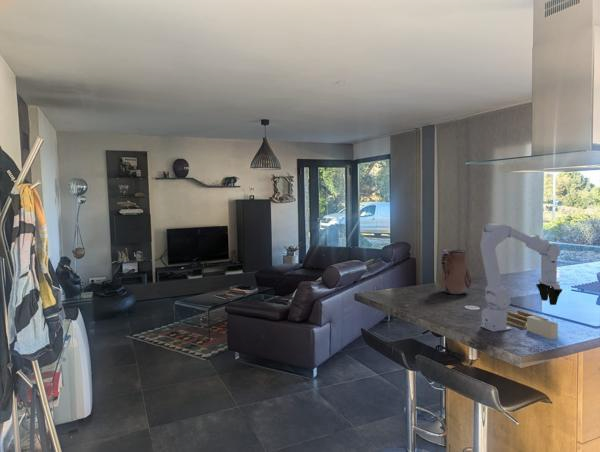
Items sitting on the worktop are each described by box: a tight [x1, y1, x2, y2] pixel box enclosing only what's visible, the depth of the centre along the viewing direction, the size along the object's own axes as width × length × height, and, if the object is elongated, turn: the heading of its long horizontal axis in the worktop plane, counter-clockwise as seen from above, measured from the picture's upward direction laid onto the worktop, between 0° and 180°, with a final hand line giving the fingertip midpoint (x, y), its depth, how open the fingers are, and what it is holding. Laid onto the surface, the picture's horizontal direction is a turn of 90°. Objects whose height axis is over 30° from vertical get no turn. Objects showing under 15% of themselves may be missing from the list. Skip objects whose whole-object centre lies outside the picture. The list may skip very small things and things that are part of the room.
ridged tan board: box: [507, 309, 549, 330], centre depth 186 cm, size 16×18×2 cm
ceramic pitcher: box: [438, 248, 472, 295], centre depth 244 cm, size 18×21×25 cm
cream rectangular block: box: [526, 316, 559, 340], centre depth 168 cm, size 3×12×6 cm, turn 15°
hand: (548, 302), depth 180 cm, fingers open, 7 cm apart
